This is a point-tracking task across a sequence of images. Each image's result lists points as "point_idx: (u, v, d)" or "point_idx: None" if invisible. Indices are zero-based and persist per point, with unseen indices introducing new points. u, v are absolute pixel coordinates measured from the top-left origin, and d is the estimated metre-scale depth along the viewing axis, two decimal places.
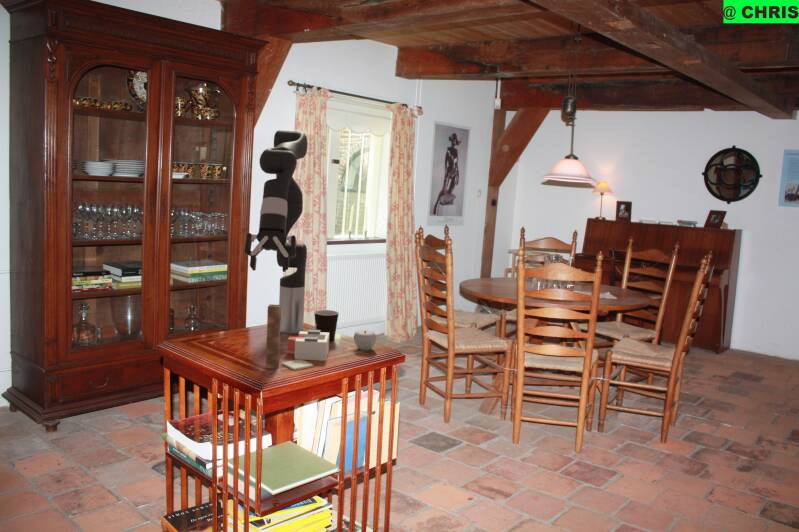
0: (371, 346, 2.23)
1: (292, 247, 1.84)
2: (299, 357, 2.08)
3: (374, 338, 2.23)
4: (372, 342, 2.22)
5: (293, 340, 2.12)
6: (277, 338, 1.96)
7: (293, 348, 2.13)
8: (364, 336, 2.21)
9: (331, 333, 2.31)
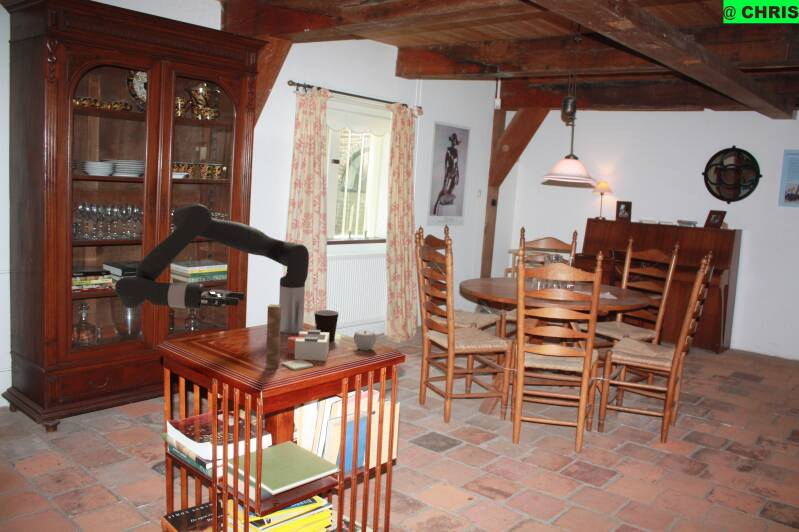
0: (371, 346, 2.23)
1: None
2: (299, 357, 2.08)
3: (374, 338, 2.23)
4: (372, 342, 2.22)
5: (293, 340, 2.12)
6: (277, 338, 1.96)
7: (293, 348, 2.13)
8: (364, 336, 2.21)
9: (331, 333, 2.31)
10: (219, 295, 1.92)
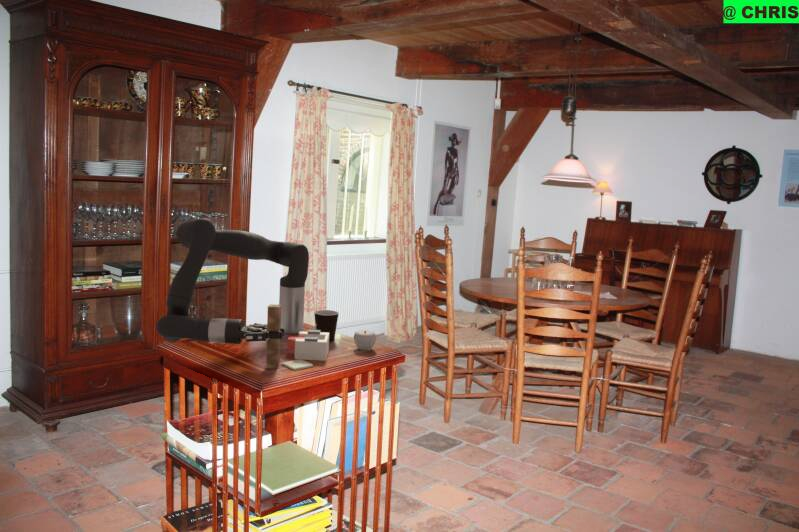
0: (371, 346, 2.23)
1: None
2: (299, 357, 2.08)
3: (374, 338, 2.23)
4: (372, 342, 2.22)
5: (293, 340, 2.12)
6: None
7: (293, 348, 2.13)
8: (364, 336, 2.21)
9: (331, 333, 2.31)
10: (261, 329, 1.95)
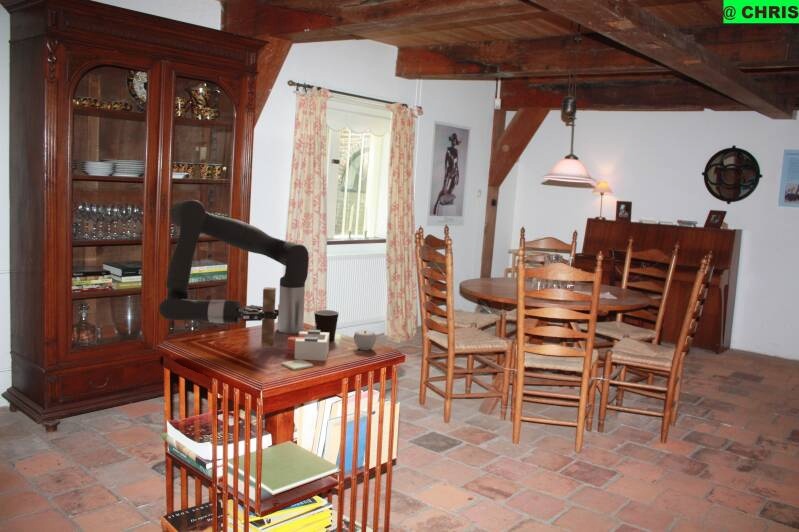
0: (371, 346, 2.23)
1: None
2: (299, 357, 2.08)
3: (374, 338, 2.23)
4: (372, 342, 2.22)
5: (293, 340, 2.12)
6: None
7: (293, 348, 2.13)
8: (364, 336, 2.21)
9: (331, 333, 2.31)
10: (257, 310, 2.10)
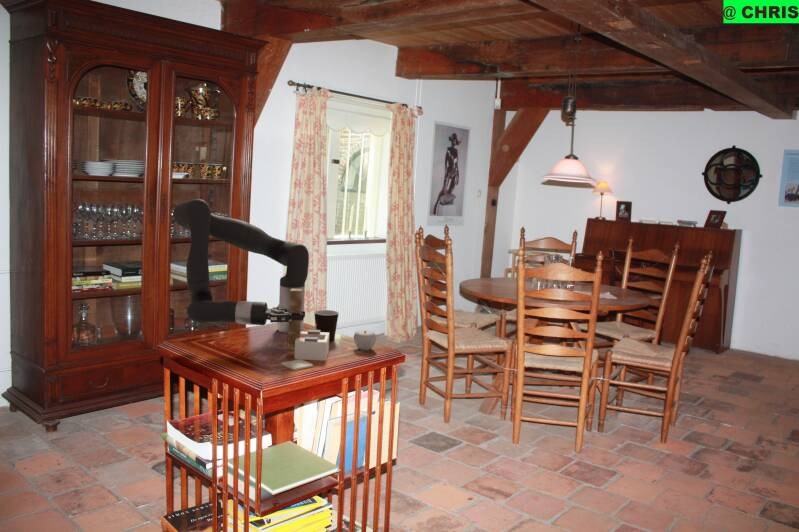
0: (371, 346, 2.23)
1: None
2: (299, 357, 2.08)
3: (374, 338, 2.23)
4: (372, 342, 2.22)
5: None
6: None
7: None
8: (364, 336, 2.21)
9: (331, 333, 2.31)
10: (284, 311, 2.11)
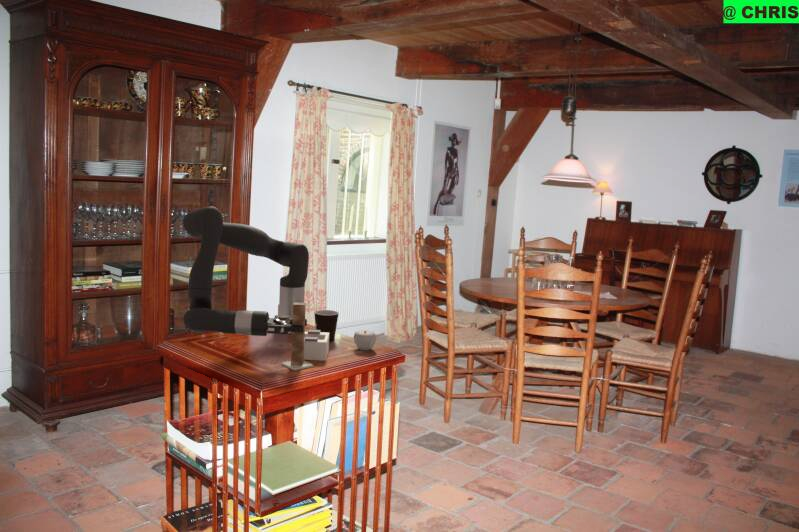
0: (371, 346, 2.23)
1: None
2: None
3: (374, 338, 2.23)
4: (372, 342, 2.22)
5: None
6: (302, 335, 1.99)
7: None
8: (364, 336, 2.21)
9: (331, 333, 2.31)
10: (284, 322, 1.96)
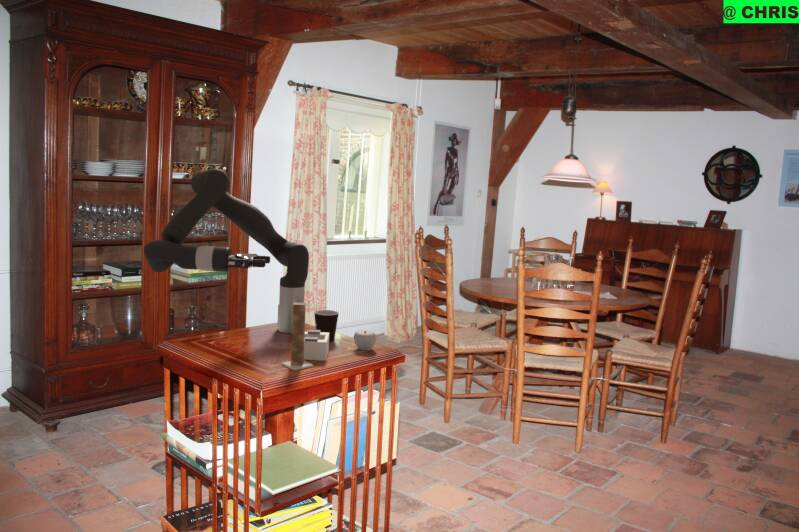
0: (371, 346, 2.23)
1: None
2: None
3: (374, 338, 2.23)
4: (372, 342, 2.22)
5: None
6: (302, 335, 1.99)
7: None
8: (364, 336, 2.21)
9: (331, 333, 2.31)
10: (246, 257, 1.93)
